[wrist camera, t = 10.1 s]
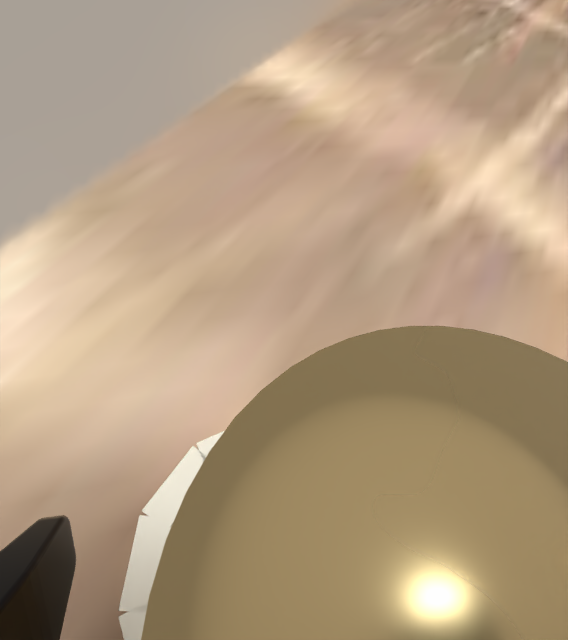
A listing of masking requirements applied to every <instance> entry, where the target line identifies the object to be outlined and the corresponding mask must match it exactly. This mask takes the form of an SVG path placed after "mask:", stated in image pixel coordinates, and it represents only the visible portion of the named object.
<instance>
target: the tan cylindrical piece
mask: <svg viewBox="0 0 568 640" xmlns="http://www.w3.org/2000/svg"><path fill="white" fill-rule="evenodd" d="M141 640H568V362H567V361H564V360H562V359H560V358H558V357H556V356H553V355H551V354H549V353H547V352H545V351H542V350H540V349H538V348H535V347H533V346H530V345H527V344H524V343H521V342H518V341H515V340H512V339H509V338H506V337H503V336H498V335H494V334H490V333H485V332H481V331H477V330H472V329H463V328H454V327H446V326H408V327H400V328H392V329H384V330H378V331H374V332H371V333H367V334H363V335H359V336H356V337H352V338H348V339H346V340H344V341H341V342H339V343H336V344H334V345H332V346H329V347H327V348H324V349H322V350H320V351H318V352H316V353H314V354H313V355H311V356H309V357H308V358H306V359H304V360H302V361H301V362H299V363H297V364H296V365H294V366H292V367H290V368H289V369H288V370H287V371H285V372H284V373H283V374H281V375H280V376H279V377H278V378H276V379H275V380H274V381H273V382H271V383H270V384H269V385H267V386H266V387H265V388H264V389H262V390H261V391H260V392H259V393H258V394H257V395H256V396H255V397H254V398H253V400H252V401H251V402H250V403H249V404H248V405H247V406H246V407H245V408H244V409H243V410H242V411H241V412H240V413H239V414H238V415H237V416H236V417H235V418H234V419H233V421H232V422H231V423H230V425H229V426H228V427H227V429H226V430H225V431H224V433H223V434H222V435H221V437H220V438H219V439H218V441H217V442H216V443H215V445H214V446H213V447H212V449H211V450H210V451H209V453H208V455H207V457H206V458H205V460H204V462H203V464H202V465H201V467H200V469H199V471H198V472H197V474H196V476H195V478H194V479H193V481H192V483H191V485H190V486H189V488H188V490H187V492H186V494H185V496H184V499H183V501H182V503H181V506H180V508H179V510H178V513H177V515H176V517H175V520H174V522H173V524H172V527H171V529H170V531H169V534H168V536H167V538H166V541H165V545H164V548H163V551H162V555H161V558H160V561H159V565H158V568H157V571H156V575H155V578H154V581H153V585H152V588H151V591H150V595H149V599H148V605H147V610H146V616H145V621H144V626H143V632H142V637H141Z"/></svg>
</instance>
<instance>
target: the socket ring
mask: <svg viewBox="0 0 568 640" xmlns="http://www.w3.org/2000/svg"><path fill="white" fill-rule="evenodd" d="M223 433H224V431H223V432H221V433H218V434H216V435H214V436H212V437H209V438H207V439H205V440H202V441H200V442H198V443H196V444H197V447H198V449H196V448H195V447H194V446H192V448H191V449H190V450H189V451H188V453H187V454H186V455H185V457H184V458H183V459H182V460H181V462H180V463H179V464H178V465H177V467H176V468H175V469H174V470H173V472H172V473H171V474H170V475H169V477H168V478H167V479H166V481H165V482H164V483H163V484H162V486H161V487H160V488H159V489H158V491H157V492H156V493H155V494H154V496H153V497H152V498H151V500H150V501H149V502H148V503H147V505H146V506H145V507H144V508H143V510H142V511H143V512H144V513H145V514H147V515H148V516H142V515H139V520H138V524H137V529H136V533H135V538H134V542H133V547H132V551H131V556H130V561H129V565H128V570H127V574H126V579H125V583H124V588H123V592H122V597H121V601H120V606H119V610H118V611H128V612H126V613H124V614H122V615H121V616H119V621H120V625H121V629H122V633H123V637H124V640H141V637H142V632H143V626H144V621H145V616H146V610H147V605H148V599H149V595H150V591H151V588H152V585H153V581H154V578H155V575H156V571H157V568H158V565H159V561H160V558H161V555H162V551H163V548H164V545H165V541H166V538H167V536H168V534H169V531H170V529H171V527H172V524H173V522H174V520H175V517H176V515H177V513H178V510H179V508H180V506H181V503H182V501H183V499H184V496H185V494H186V492H187V490H188V488H189V486H190V485H191V483H192V481H193V479H194V478H195V476H196V474H197V472H198V471H199V469H200V467H201V465H202V464H203V462H204V460H205V458H206V457H207V455H208V453H209V451H210V450H211V449H212V447H213V446H214V445H215V443H216V442H217V441H218V439H219V438H220V437H221V435H222V434H223Z"/></svg>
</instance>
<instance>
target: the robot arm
mask: <svg viewBox="0 0 568 640" xmlns="http://www.w3.org/2000/svg"><path fill="white" fill-rule="evenodd" d="M75 565H76V554H75V548H74V542H73V537H72V531H71V526H70V521H69V519H68V517H66V516H64V515H61V516H54V517H46V518H41V519H39V520H38V521H36V522H35V523H34V524H33V525H31V526H30V527H29V528H28V529H27V530H25V531H24V532H23V533H22V534H21V535H19V536H18V537H17V538H16V539H15V540H13V541H12V542H11V543H10V544H9V545H7V546H6V547H5V548H4V549H2V550H1V551H0V640H59V639H60V635H61V630H62V626H63V621H64V617H65V612H66V608H67V603H68V599H69V594H70V590H71V585H72V580H73V576H74V571H75Z"/></svg>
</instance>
